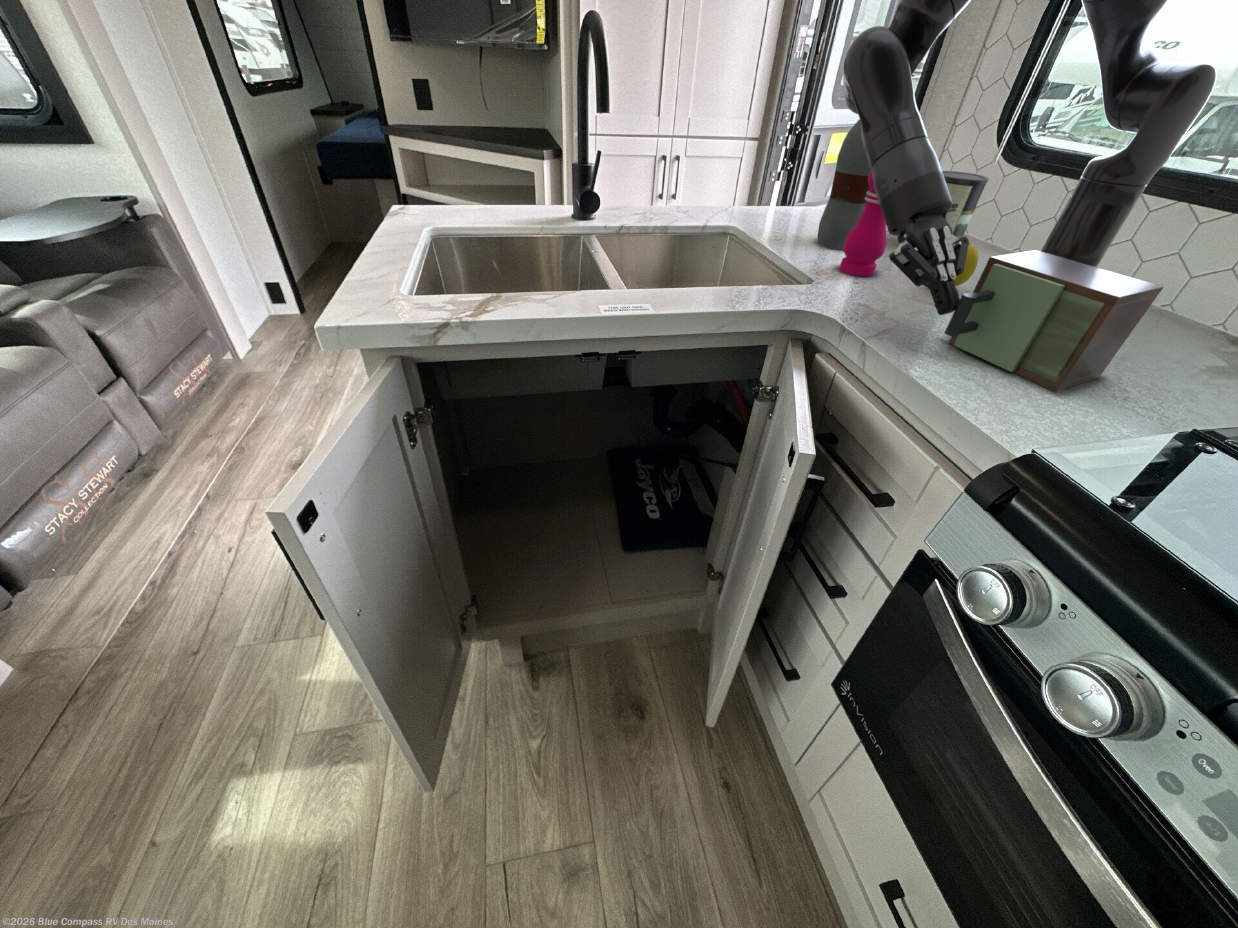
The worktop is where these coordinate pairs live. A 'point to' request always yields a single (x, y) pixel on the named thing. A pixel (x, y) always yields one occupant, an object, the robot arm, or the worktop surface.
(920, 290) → the worktop surface
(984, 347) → the door
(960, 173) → the coffee can
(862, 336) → the worktop surface
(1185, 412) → the worktop surface
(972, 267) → the lemon
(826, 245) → the bottle
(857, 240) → the pepper mill
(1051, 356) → the cabinet
